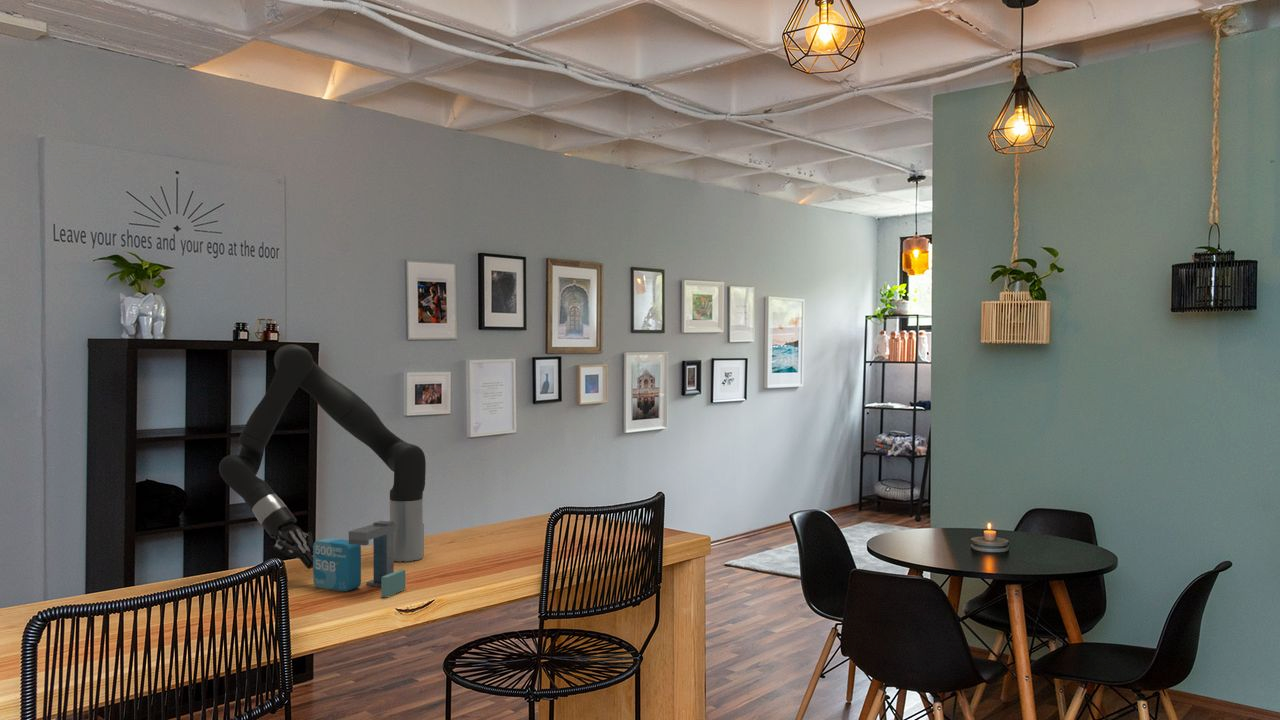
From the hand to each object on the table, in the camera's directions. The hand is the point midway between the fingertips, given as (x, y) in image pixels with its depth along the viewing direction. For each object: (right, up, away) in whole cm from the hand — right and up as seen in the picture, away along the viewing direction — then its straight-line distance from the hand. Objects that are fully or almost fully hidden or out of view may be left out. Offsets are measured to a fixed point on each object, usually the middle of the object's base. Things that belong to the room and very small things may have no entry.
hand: (313, 566), depth 240 cm
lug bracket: (+16, -5, -2) cm, 17 cm away
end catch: (+23, -5, -8) cm, 25 cm away
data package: (+7, -5, -2) cm, 9 cm away
